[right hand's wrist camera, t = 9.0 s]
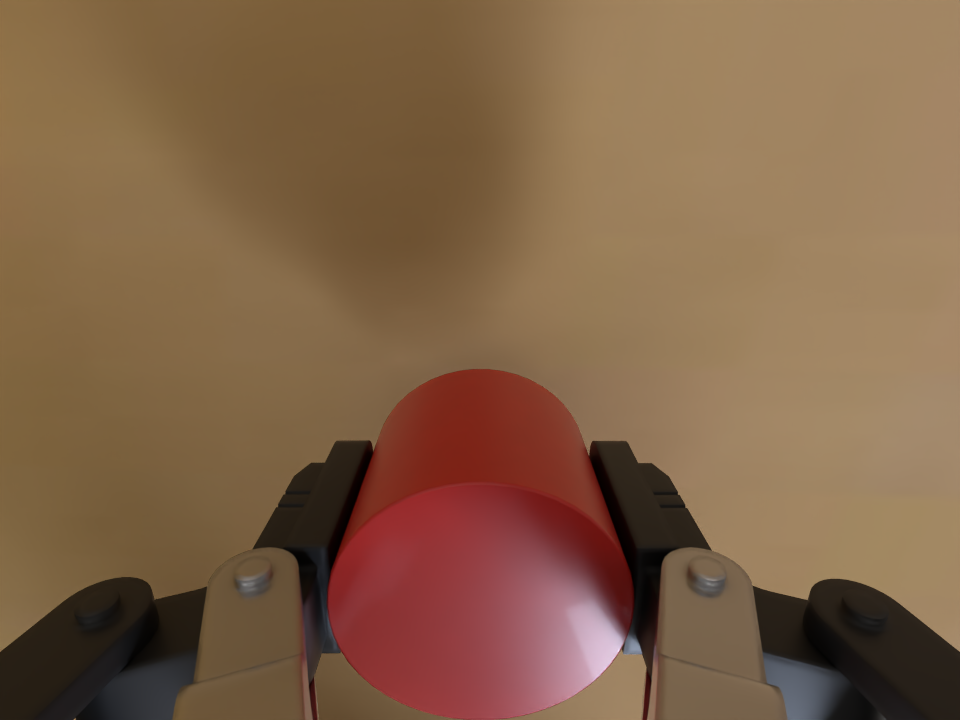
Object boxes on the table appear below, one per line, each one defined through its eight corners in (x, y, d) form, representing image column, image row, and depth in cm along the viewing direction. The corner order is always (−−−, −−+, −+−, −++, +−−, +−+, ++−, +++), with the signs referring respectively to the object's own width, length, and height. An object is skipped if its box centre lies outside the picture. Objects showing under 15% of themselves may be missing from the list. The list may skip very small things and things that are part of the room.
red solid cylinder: (586, 362, 12) (643, 474, 8) (583, 544, 13) (629, 716, 9) (362, 374, 12) (300, 491, 8) (389, 554, 14) (349, 727, 9)
